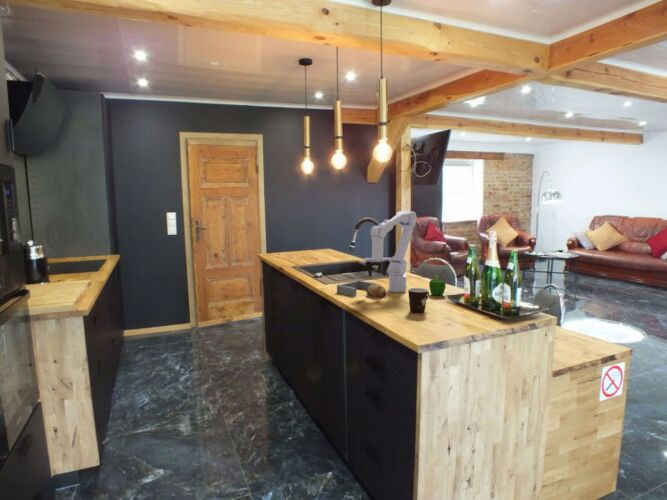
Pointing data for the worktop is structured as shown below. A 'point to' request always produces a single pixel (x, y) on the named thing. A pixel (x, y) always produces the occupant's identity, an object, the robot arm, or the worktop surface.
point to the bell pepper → (437, 286)
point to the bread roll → (376, 291)
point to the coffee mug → (417, 299)
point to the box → (352, 287)
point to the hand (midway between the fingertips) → (377, 275)
